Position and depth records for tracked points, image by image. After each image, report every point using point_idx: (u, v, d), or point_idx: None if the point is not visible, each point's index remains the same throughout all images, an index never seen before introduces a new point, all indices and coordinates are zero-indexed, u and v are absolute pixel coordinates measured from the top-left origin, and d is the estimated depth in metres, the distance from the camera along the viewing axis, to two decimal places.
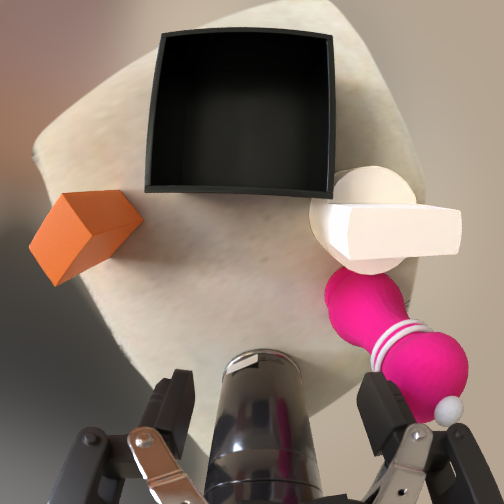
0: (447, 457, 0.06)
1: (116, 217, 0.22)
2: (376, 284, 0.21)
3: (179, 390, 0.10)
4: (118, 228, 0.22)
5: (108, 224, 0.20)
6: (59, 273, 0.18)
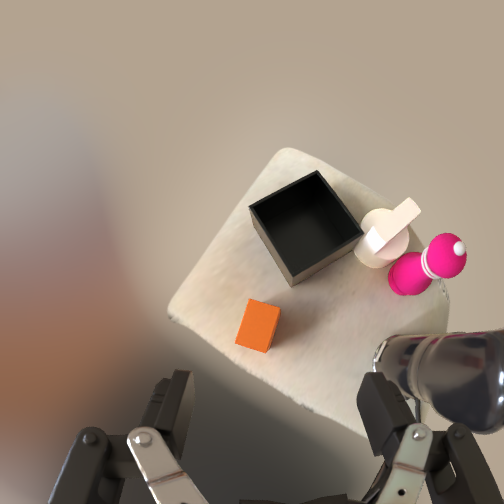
0: (447, 457, 0.06)
1: None
2: (407, 256, 0.39)
3: (179, 390, 0.10)
4: (280, 311, 0.40)
5: None
6: (266, 342, 0.35)
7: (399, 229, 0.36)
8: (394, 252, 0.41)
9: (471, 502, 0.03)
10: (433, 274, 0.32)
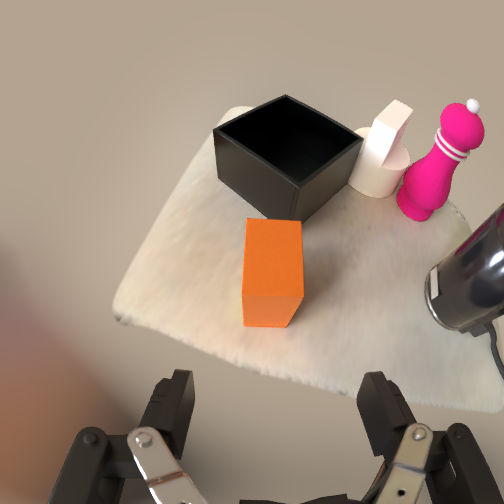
0: (447, 457, 0.06)
1: None
2: (414, 164, 0.31)
3: (179, 390, 0.10)
4: None
5: None
6: (298, 277, 0.20)
7: (402, 121, 0.27)
8: (400, 163, 0.32)
9: (471, 502, 0.03)
10: (458, 152, 0.23)
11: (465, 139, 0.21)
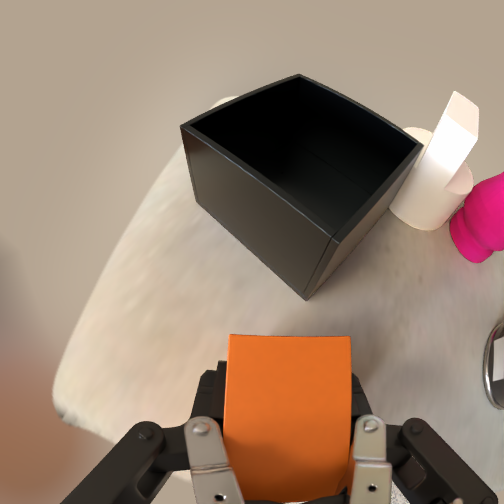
0: (409, 453, 0.07)
1: None
2: (482, 185, 0.18)
3: None
4: None
5: None
6: (338, 465, 0.07)
7: (476, 123, 0.14)
8: (464, 183, 0.19)
9: (450, 493, 0.04)
10: None
11: None
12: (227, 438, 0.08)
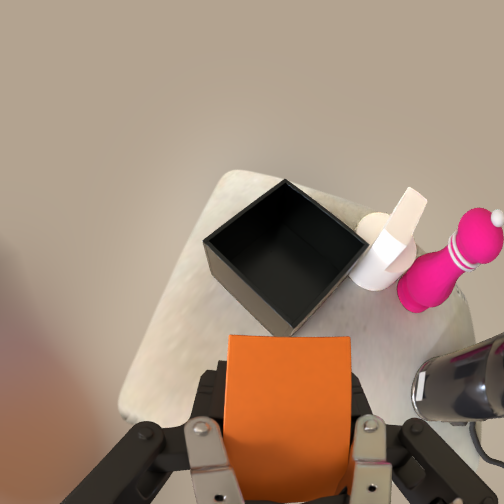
0: (409, 453, 0.07)
1: None
2: (421, 261, 0.30)
3: None
4: None
5: None
6: (337, 466, 0.07)
7: (414, 225, 0.26)
8: (405, 261, 0.31)
9: (450, 493, 0.04)
10: (471, 265, 0.22)
11: (482, 258, 0.20)
12: (227, 438, 0.08)
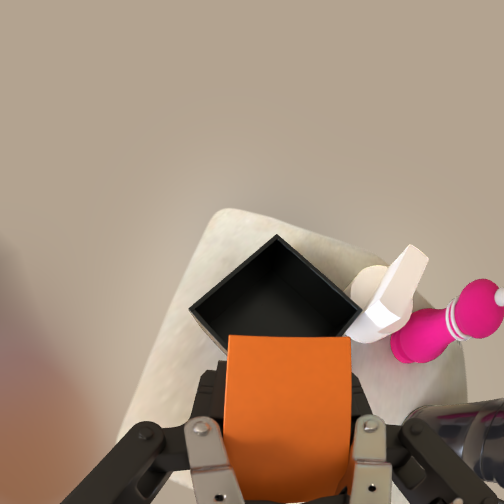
0: (408, 453, 0.07)
1: None
2: (416, 320, 0.29)
3: None
4: None
5: None
6: (338, 466, 0.07)
7: (411, 293, 0.25)
8: (400, 319, 0.29)
9: (450, 493, 0.04)
10: (466, 337, 0.21)
11: (478, 336, 0.19)
12: (227, 439, 0.08)
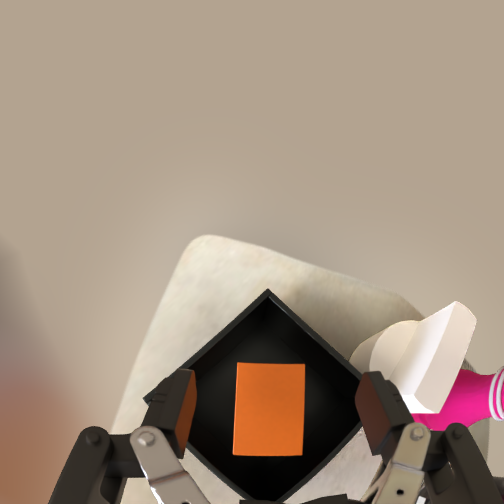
0: (445, 457, 0.06)
1: None
2: None
3: (181, 389, 0.10)
4: None
5: None
6: (297, 435, 0.14)
7: (455, 375, 0.14)
8: None
9: (470, 501, 0.03)
10: None
11: None
12: (237, 418, 0.15)
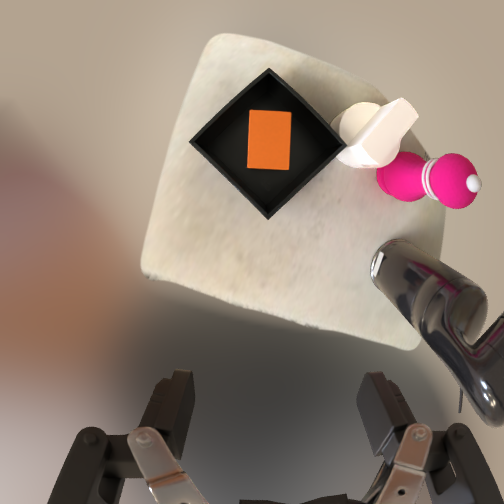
0: (447, 457, 0.06)
1: None
2: (399, 163, 0.31)
3: (179, 390, 0.10)
4: None
5: None
6: (285, 156, 0.28)
7: (394, 143, 0.26)
8: (384, 157, 0.32)
9: (471, 502, 0.03)
10: (438, 199, 0.26)
11: (446, 205, 0.24)
12: (249, 143, 0.28)
